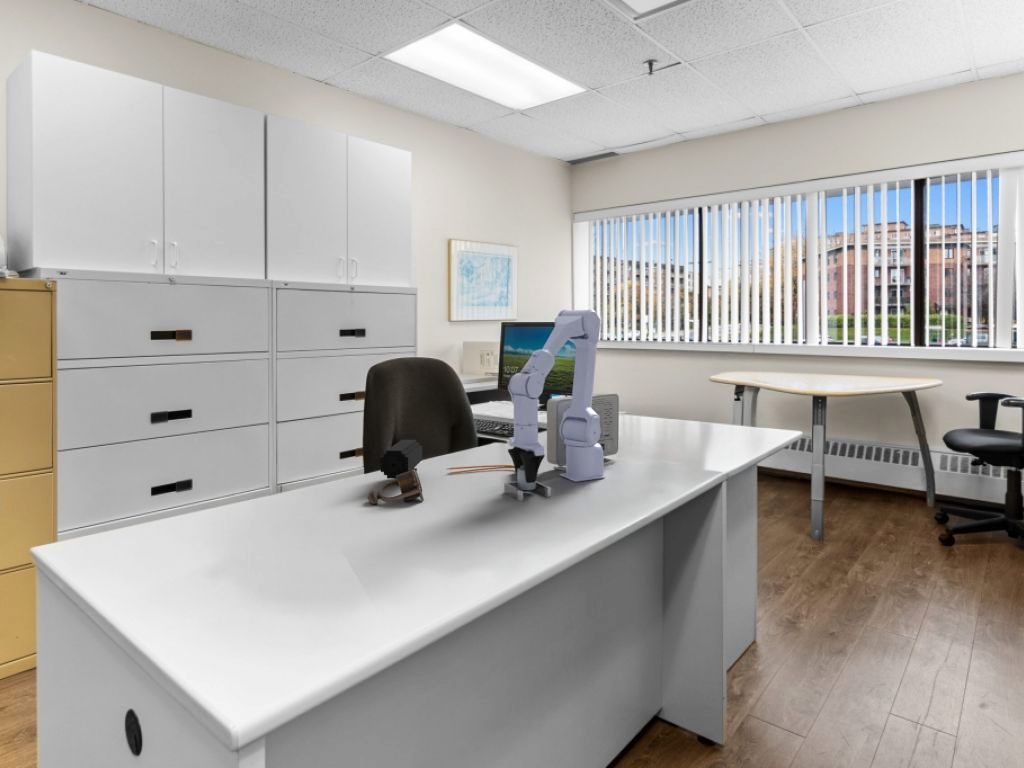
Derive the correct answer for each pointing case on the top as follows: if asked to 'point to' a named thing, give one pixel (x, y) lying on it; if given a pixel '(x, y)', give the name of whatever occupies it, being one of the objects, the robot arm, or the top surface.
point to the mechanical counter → (407, 485)
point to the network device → (601, 404)
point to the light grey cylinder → (524, 480)
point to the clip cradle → (513, 491)
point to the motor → (481, 469)
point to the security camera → (401, 458)
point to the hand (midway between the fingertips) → (526, 479)
